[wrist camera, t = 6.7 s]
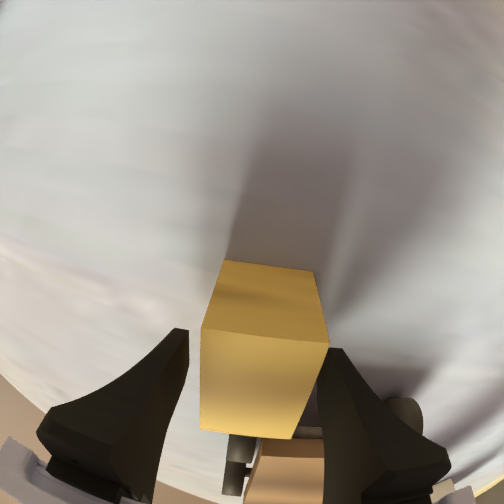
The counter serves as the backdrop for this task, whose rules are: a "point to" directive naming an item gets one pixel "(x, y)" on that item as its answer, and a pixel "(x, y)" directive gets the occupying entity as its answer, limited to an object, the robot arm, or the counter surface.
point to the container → (442, 490)
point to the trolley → (291, 462)
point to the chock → (260, 350)
